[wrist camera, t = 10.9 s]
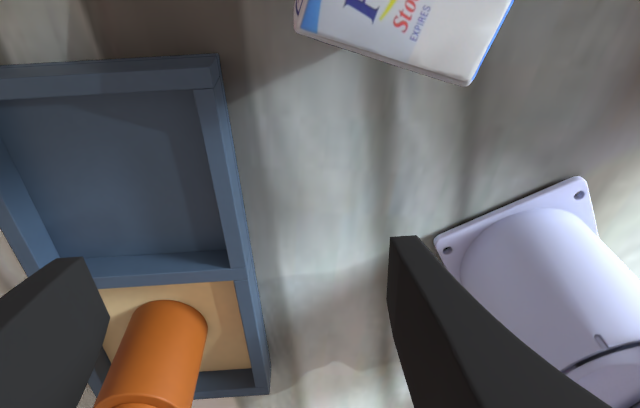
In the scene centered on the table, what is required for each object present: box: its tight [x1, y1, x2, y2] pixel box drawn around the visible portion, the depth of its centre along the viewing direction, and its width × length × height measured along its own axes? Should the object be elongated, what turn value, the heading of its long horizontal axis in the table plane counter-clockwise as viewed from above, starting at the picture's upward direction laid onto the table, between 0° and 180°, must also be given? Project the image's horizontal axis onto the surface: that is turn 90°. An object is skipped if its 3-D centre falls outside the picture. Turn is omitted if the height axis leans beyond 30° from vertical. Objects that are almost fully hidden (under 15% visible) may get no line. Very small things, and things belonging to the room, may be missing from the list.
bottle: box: [93, 300, 208, 408], centre depth 22 cm, size 4×4×8 cm
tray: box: [0, 53, 271, 400], centre depth 22 cm, size 20×11×2 cm, turn 3°
